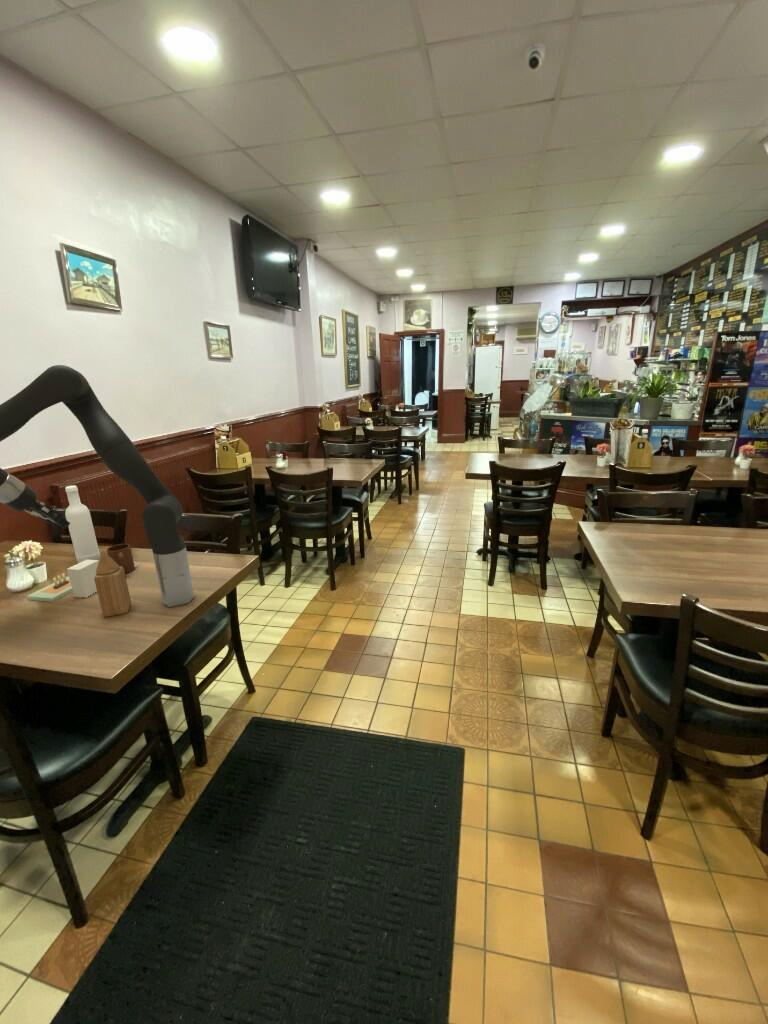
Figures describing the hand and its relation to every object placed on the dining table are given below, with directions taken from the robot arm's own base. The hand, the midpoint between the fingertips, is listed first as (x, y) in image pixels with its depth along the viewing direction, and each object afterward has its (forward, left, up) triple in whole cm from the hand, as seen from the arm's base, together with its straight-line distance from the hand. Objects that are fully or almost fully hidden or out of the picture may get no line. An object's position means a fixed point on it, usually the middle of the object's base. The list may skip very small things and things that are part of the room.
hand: (59, 523), depth 135 cm
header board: (+8, +6, -25) cm, 27 cm away
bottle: (+34, +2, -25) cm, 43 cm away
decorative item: (-18, -13, -25) cm, 34 cm away
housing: (+1, -3, -25) cm, 25 cm away
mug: (+13, -12, -25) cm, 31 cm away
